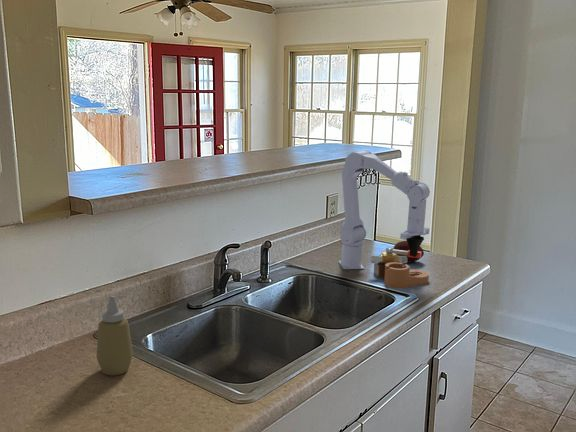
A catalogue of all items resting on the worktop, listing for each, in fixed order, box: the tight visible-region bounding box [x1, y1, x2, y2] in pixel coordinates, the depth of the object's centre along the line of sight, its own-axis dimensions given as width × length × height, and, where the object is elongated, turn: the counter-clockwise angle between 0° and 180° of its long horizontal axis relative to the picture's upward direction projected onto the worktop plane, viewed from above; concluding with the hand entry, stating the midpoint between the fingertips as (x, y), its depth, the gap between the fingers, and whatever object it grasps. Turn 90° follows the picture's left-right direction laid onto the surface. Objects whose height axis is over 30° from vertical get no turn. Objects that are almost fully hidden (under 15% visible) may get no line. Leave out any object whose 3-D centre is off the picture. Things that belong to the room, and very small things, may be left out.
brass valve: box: [370, 251, 407, 279], centre depth 200 cm, size 6×13×8 cm, turn 97°
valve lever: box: [385, 247, 422, 259], centre depth 197 cm, size 12×2×2 cm, turn 68°
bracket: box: [383, 262, 430, 289], centre depth 193 cm, size 18×8×7 cm, turn 122°
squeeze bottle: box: [96, 295, 134, 376], centre depth 125 cm, size 8×8×18 cm
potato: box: [393, 240, 425, 264], centre depth 218 cm, size 12×11×8 cm
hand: (413, 256), depth 194 cm, fingers closed, pressing on valve lever
